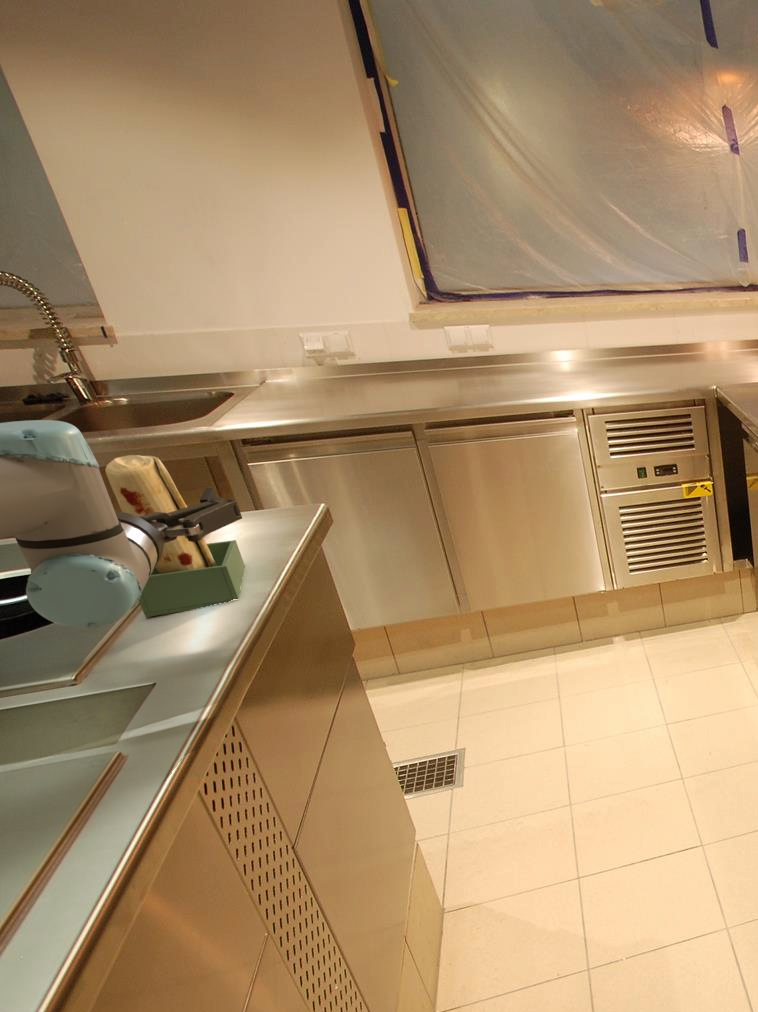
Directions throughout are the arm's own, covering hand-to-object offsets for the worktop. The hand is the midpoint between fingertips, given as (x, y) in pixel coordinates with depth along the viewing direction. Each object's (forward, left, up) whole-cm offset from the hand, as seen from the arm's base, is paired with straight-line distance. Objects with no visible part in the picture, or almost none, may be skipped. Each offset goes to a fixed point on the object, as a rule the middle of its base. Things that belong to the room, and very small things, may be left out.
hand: (145, 504), depth 108 cm
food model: (0, +9, -15) cm, 18 cm away
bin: (0, +9, -16) cm, 18 cm away
